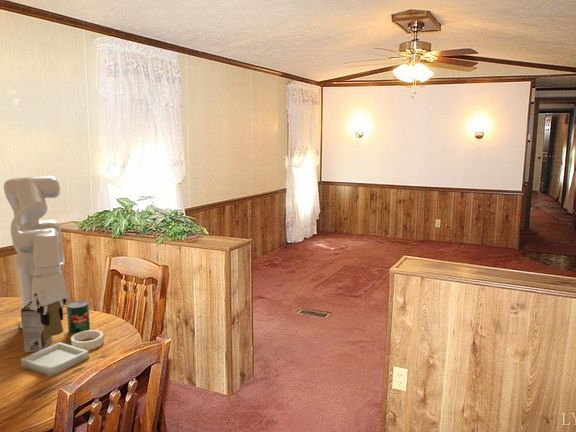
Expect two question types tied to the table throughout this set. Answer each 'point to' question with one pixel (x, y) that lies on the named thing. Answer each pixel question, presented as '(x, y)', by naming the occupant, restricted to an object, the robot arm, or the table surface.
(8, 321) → the table surface
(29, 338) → the coffee box
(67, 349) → the tray
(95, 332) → the collar
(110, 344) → the table surface
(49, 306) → the cork
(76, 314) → the canned tomato
